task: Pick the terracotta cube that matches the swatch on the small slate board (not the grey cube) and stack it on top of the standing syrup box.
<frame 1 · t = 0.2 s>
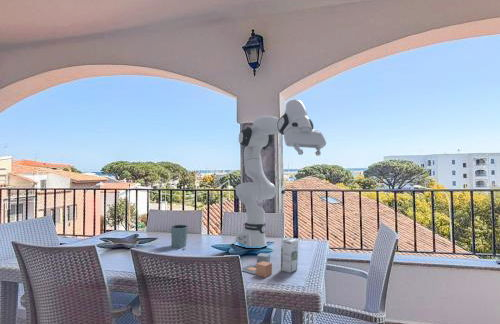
hand: (309, 154, 133), 54 cm above the table, tool tilted 30°, fingers open, 8 cm apart
terracotta block: (264, 274, 134), on the table
green cup: (179, 246, 180), on the table
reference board: (252, 269, 140), on the table
syrup box: (289, 270, 140), on the table
grey block: (263, 264, 147), on the table
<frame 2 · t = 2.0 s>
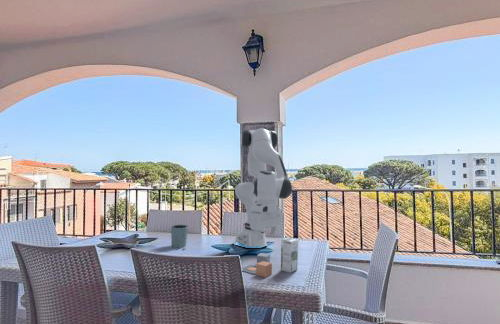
hand: (266, 237, 133), 17 cm above the table, tool pointing down, fingers open, 8 cm apart
nothing on the table moved.
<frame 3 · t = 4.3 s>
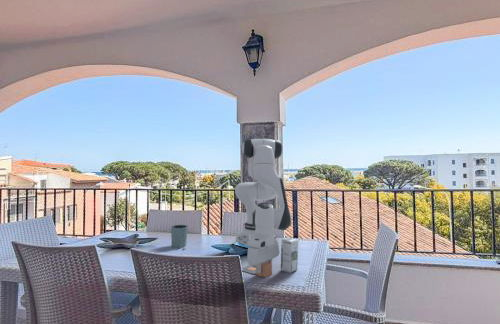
hand: (264, 270, 134), 2 cm above the table, tool pointing down, fingers closed on terracotta block, 5 cm apart
terracotta block: (264, 274, 134), on the table, touching gripper
everything else where it was.
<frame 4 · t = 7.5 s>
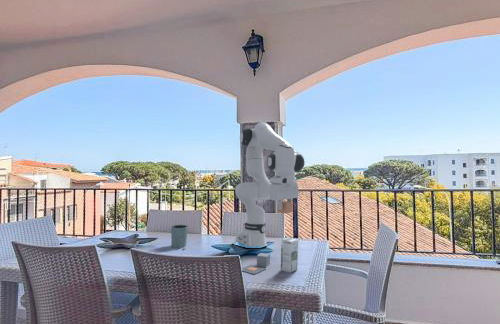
hand: (284, 208, 139), 29 cm above the table, tool pointing down, fingers closed on terracotta block, 5 cm apart
terracotta block: (284, 212, 139), point 27 cm above the table, touching gripper
everything else where it was.
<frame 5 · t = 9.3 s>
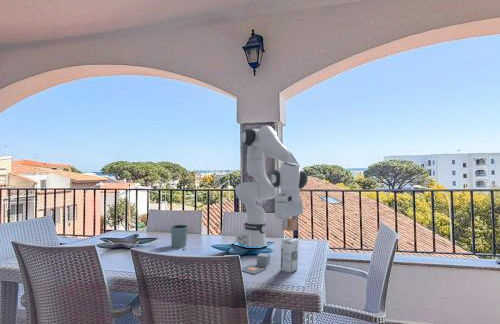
hand: (289, 226, 140), 21 cm above the table, tool pointing down, fingers closed on terracotta block, 5 cm apart
terracotta block: (289, 229, 140), point 19 cm above the table, touching gripper
everything else where it was.
when the fingers open (18 cm above the table, at t = 10.7 s): terracotta block drops 2 cm, resting on syrup box.
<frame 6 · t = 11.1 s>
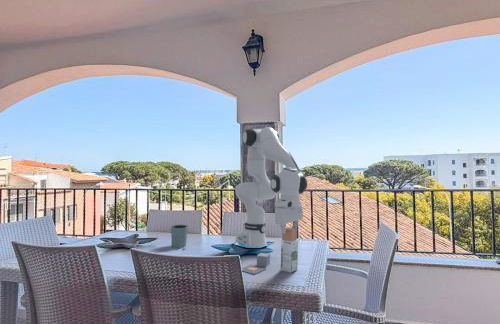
hand: (289, 231, 140), 18 cm above the table, tool pointing down, fingers open, 8 cm apart
terracotta block: (289, 239, 140), point 14 cm above the table, touching syrup box
syrup box: (289, 270, 140), on the table, touching terracotta block
everything else where it was.
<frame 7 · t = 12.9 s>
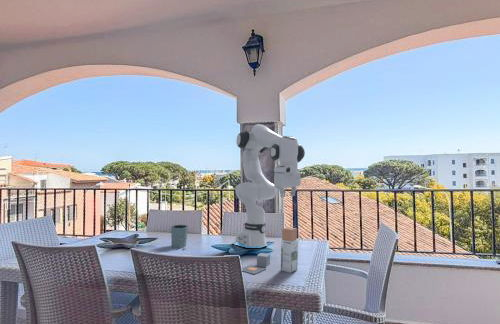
hand: (287, 196, 149), 34 cm above the table, tool pointing down, fingers open, 8 cm apart
nothing on the table moved.
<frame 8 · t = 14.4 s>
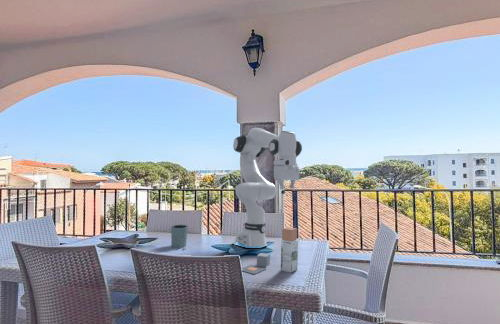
hand: (287, 188, 154), 37 cm above the table, tool pointing down, fingers open, 8 cm apart
nothing on the table moved.
at the end: terracotta block 0.1 cm from the syrup box (horizontally); terracotta block point 14.4 cm above the table; syrup box tilted 0° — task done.
